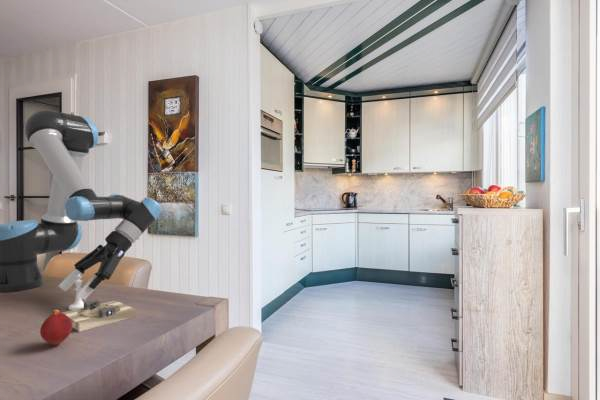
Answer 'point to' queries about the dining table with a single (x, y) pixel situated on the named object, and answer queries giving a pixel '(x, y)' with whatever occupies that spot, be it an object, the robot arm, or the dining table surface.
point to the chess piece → (78, 301)
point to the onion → (56, 328)
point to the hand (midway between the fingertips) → (70, 293)
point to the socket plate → (99, 314)
